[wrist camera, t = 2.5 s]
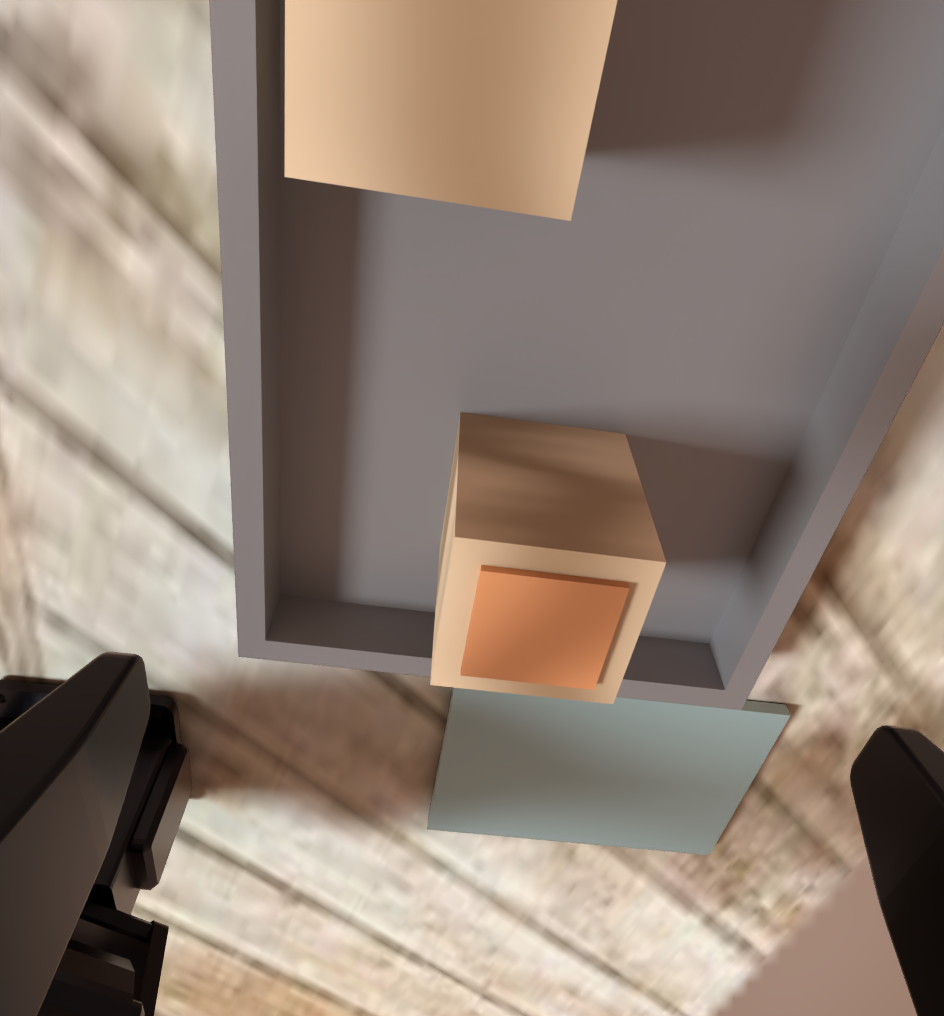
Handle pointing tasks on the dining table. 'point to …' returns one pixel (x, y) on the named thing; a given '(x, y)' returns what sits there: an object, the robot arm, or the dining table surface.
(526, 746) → the mat
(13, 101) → the dining table surface
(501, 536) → the labelled block
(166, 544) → the dining table surface
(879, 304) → the parts bin
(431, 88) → the plain block
